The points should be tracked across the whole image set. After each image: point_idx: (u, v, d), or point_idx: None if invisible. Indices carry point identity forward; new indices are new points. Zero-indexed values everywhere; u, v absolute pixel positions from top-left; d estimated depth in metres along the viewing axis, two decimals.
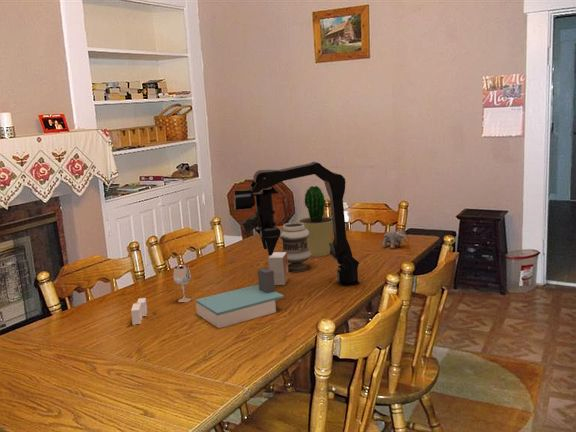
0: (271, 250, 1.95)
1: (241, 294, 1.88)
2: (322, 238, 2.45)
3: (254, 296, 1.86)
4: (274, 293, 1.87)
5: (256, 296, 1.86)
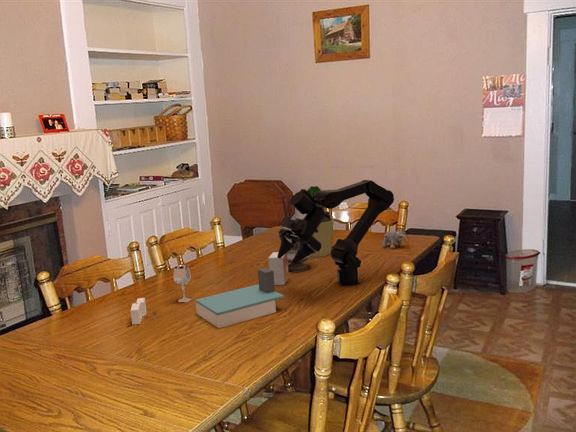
0: (297, 259, 1.89)
1: (241, 294, 1.88)
2: (322, 238, 2.45)
3: (254, 296, 1.86)
4: (274, 293, 1.87)
5: (256, 296, 1.86)
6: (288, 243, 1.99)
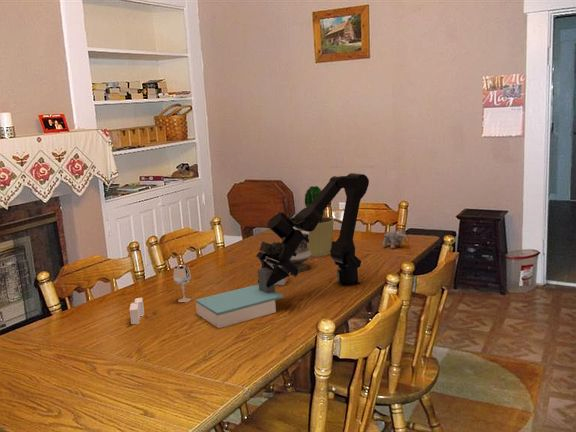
0: (271, 282, 1.87)
1: (241, 294, 1.88)
2: (322, 238, 2.45)
3: (254, 296, 1.86)
4: (274, 293, 1.87)
5: (256, 296, 1.86)
6: (269, 267, 1.94)
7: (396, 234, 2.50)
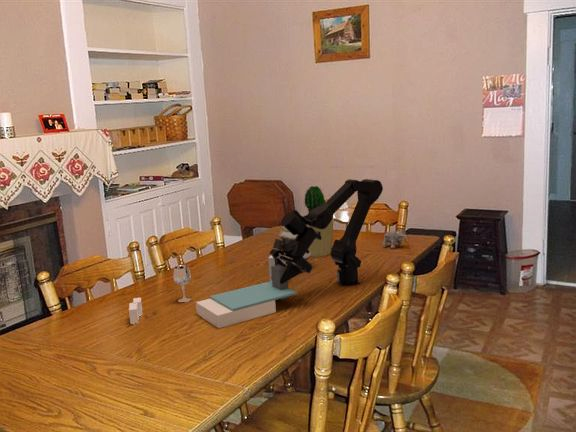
0: (285, 279, 1.90)
1: (255, 291, 1.91)
2: (322, 238, 2.45)
3: (268, 292, 1.89)
4: (287, 289, 1.90)
5: (270, 292, 1.89)
6: (282, 264, 1.97)
7: (396, 234, 2.50)
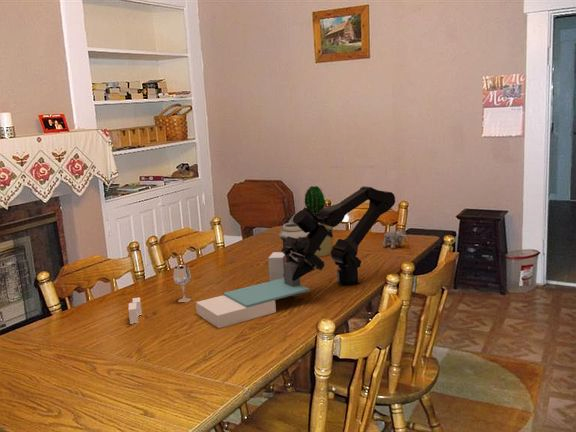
0: (297, 276, 1.93)
1: (267, 288, 1.93)
2: None
3: (281, 289, 1.91)
4: (300, 286, 1.92)
5: (283, 289, 1.91)
6: (294, 262, 1.99)
7: (396, 234, 2.50)
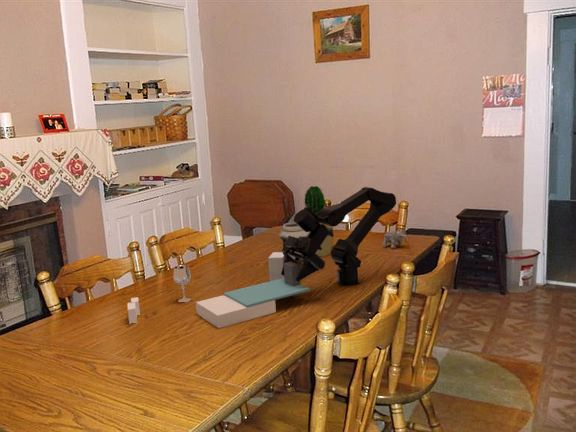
0: (301, 277, 1.91)
1: (268, 288, 1.93)
2: None
3: (281, 289, 1.91)
4: (300, 286, 1.93)
5: (283, 289, 1.91)
6: (292, 260, 2.01)
7: (396, 234, 2.50)
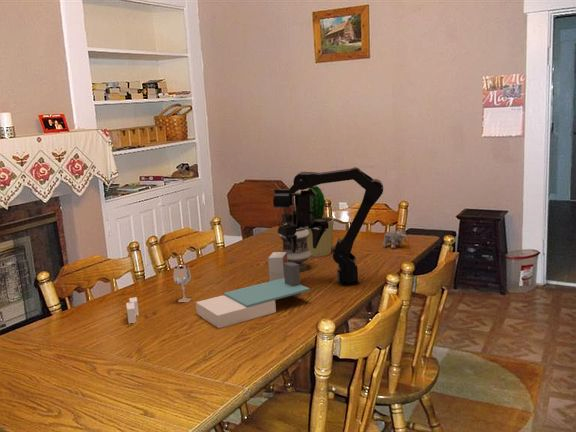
0: (292, 248, 2.06)
1: (268, 288, 1.93)
2: (322, 238, 2.45)
3: (281, 289, 1.91)
4: (300, 286, 1.93)
5: (283, 289, 1.91)
6: (315, 231, 2.10)
7: (396, 234, 2.50)
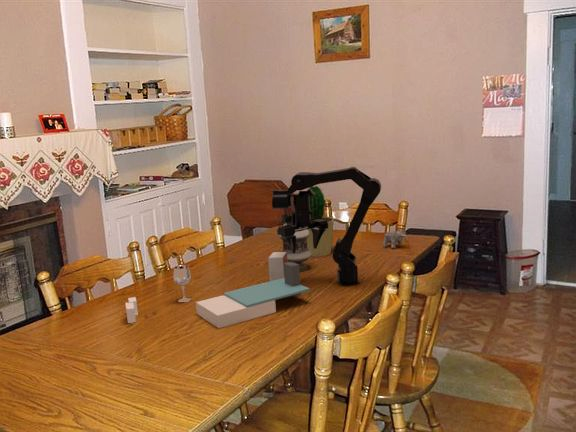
0: (292, 248, 2.06)
1: (268, 288, 1.93)
2: (322, 238, 2.45)
3: (281, 289, 1.91)
4: (300, 286, 1.93)
5: (283, 289, 1.91)
6: (315, 231, 2.11)
7: (396, 234, 2.50)
